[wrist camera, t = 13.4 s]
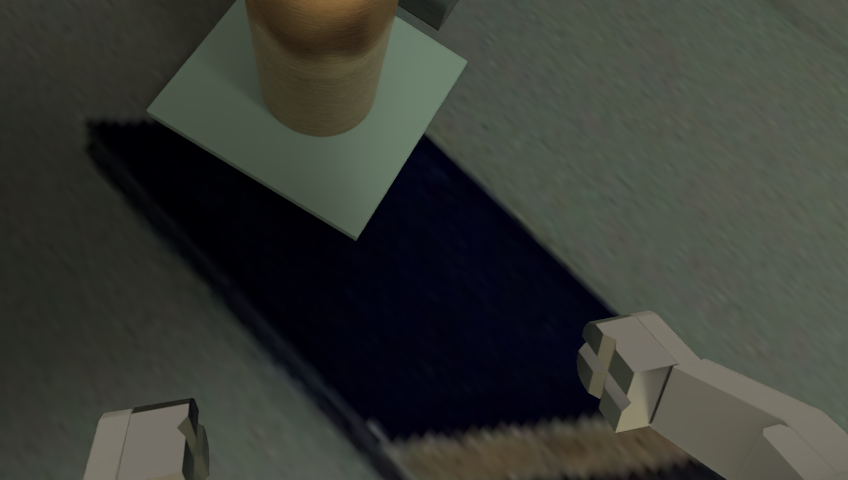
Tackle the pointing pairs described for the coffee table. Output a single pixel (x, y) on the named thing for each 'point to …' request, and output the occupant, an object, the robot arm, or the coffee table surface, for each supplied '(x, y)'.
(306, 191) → the mat
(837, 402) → the coffee table surface
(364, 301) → the coffee table surface
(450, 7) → the housing
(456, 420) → the coffee table surface
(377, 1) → the copper plug
